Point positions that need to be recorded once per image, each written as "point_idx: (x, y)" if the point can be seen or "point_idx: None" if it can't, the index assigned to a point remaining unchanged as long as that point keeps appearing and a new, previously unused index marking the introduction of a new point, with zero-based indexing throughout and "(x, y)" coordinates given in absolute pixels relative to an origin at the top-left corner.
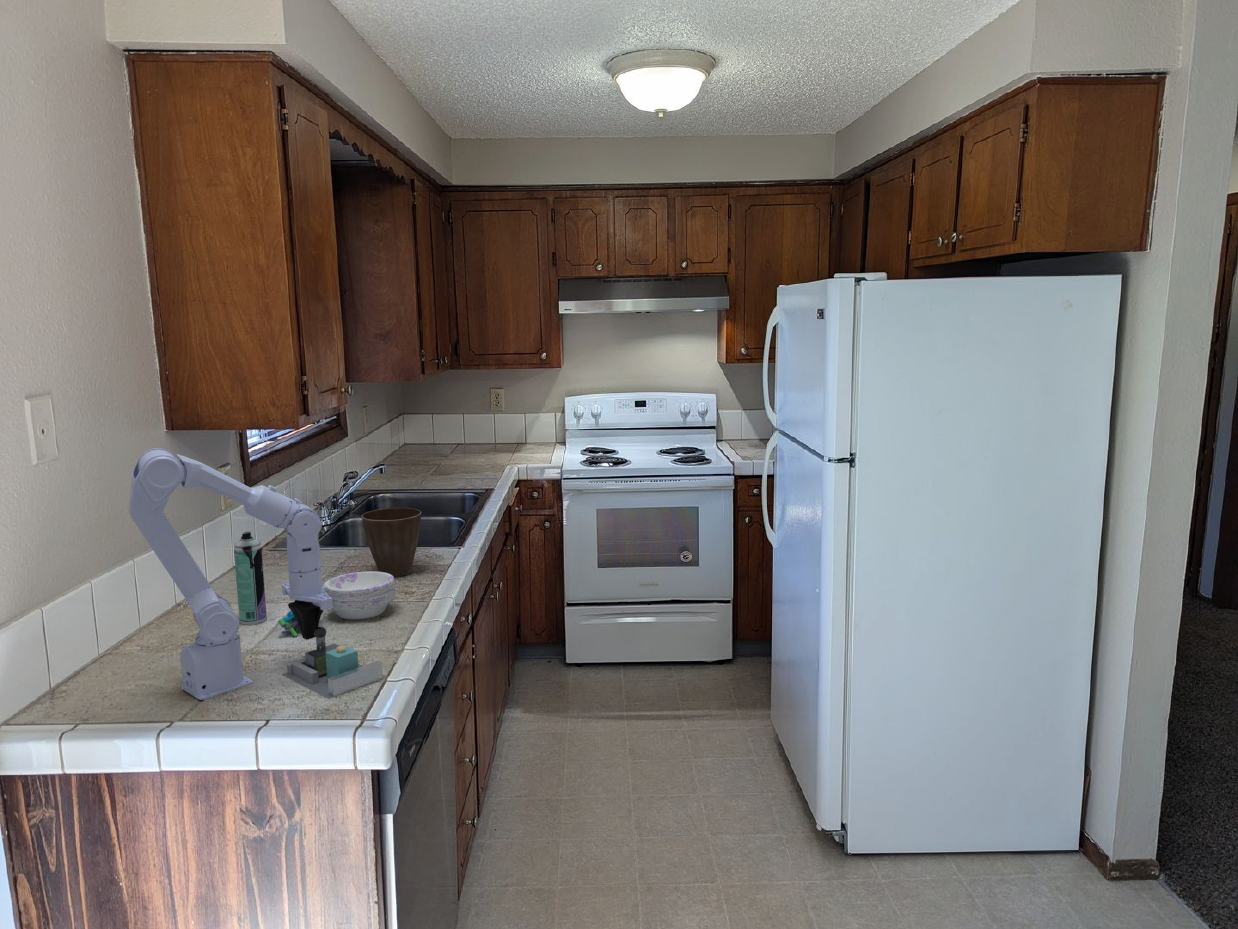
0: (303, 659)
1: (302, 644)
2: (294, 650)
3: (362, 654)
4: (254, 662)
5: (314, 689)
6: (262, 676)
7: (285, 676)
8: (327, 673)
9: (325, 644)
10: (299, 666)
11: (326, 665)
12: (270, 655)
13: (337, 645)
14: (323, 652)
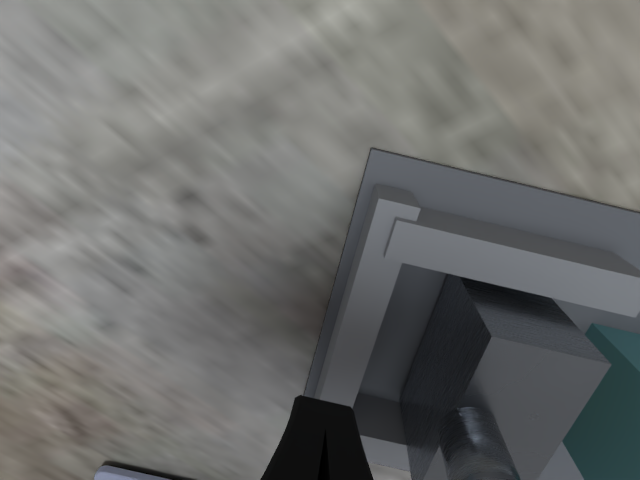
0: (327, 383)
1: (14, 103)
2: (68, 194)
3: (491, 42)
4: (66, 370)
5: (542, 475)
6: (230, 445)
7: None
8: (565, 438)
9: (505, 445)
10: (396, 463)
11: (584, 478)
12: (40, 292)
13: (544, 355)
14: (524, 463)
